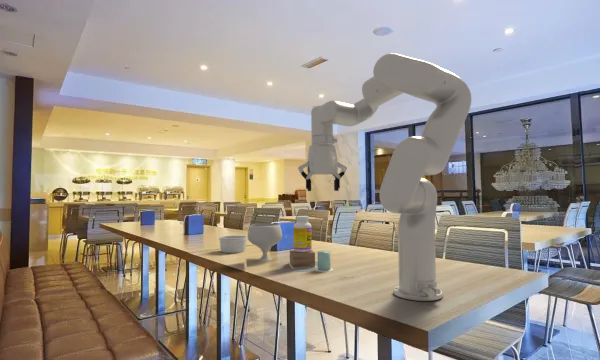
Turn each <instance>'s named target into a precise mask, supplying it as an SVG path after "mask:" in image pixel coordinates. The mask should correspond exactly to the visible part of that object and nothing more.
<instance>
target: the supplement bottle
mask: <svg viewBox="0 0 600 360" xmlns="http://www.w3.org/2000/svg"><path fill="white" fill-rule="evenodd" d="M295 219H296V223H294V224H293V250H294V251H295V252H310V251H311V250H312V251H313V249H312V240H313V239H312V235H313V234H312V224H311V223H310V222H309V219H310V216H308V215H296V216H295Z"/></svg>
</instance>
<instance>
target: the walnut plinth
mask: <svg viewBox="0 0 600 360" xmlns="http://www.w3.org/2000/svg"><path fill="white" fill-rule="evenodd" d="M315 262H316V252H315V251H314V250H313V249H312V250H311V251H310V252H295V251H294V249H289V263H290V264H291V266H292V267H293V268H300V267H315ZM291 266H290V267H291Z"/></svg>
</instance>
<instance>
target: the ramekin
mask: <svg viewBox="0 0 600 360" xmlns="http://www.w3.org/2000/svg"><path fill="white" fill-rule="evenodd" d="M218 240H219V246H220V247H219V248H220V250H221V252H222V253H226V254H238V253H243V252H245V250H246V248H247V242H248V241H247V240H248V235H223V236H220V237H219V238H218Z"/></svg>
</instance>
